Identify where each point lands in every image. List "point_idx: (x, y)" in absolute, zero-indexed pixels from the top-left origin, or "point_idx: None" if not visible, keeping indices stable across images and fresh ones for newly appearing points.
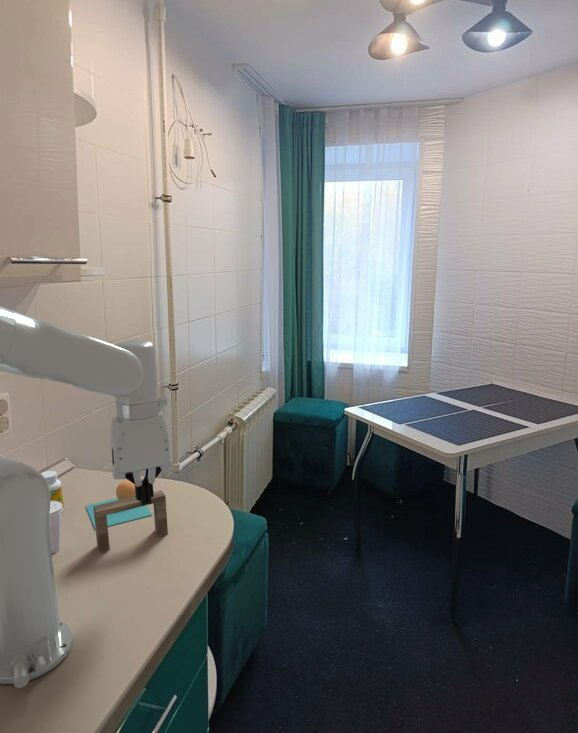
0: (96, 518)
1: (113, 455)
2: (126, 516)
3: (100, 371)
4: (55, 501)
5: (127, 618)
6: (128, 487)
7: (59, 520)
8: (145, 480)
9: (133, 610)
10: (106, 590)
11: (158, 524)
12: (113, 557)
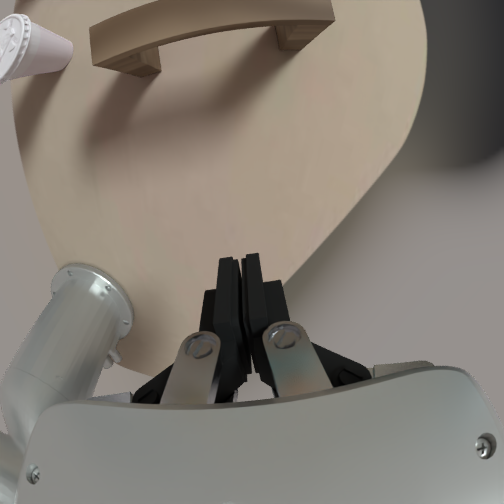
0: (102, 67)
1: (26, 462)
2: None
3: None
4: (15, 17)
5: (197, 289)
6: None
7: (36, 52)
8: (259, 372)
9: (205, 277)
10: (158, 213)
11: (285, 43)
12: (168, 102)
